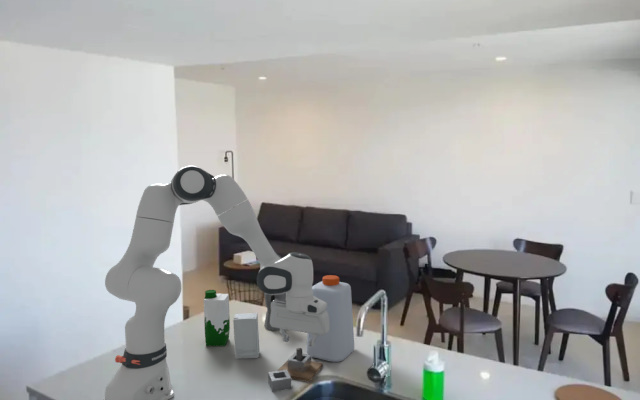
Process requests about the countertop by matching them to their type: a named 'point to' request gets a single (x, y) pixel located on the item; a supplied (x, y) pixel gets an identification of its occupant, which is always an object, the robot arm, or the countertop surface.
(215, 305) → the milk carton
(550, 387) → the countertop surface
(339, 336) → the plastic bottle
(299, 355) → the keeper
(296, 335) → the countertop surface
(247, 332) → the skincare box
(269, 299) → the coffeepot
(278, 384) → the link
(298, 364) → the grey hollow square block
